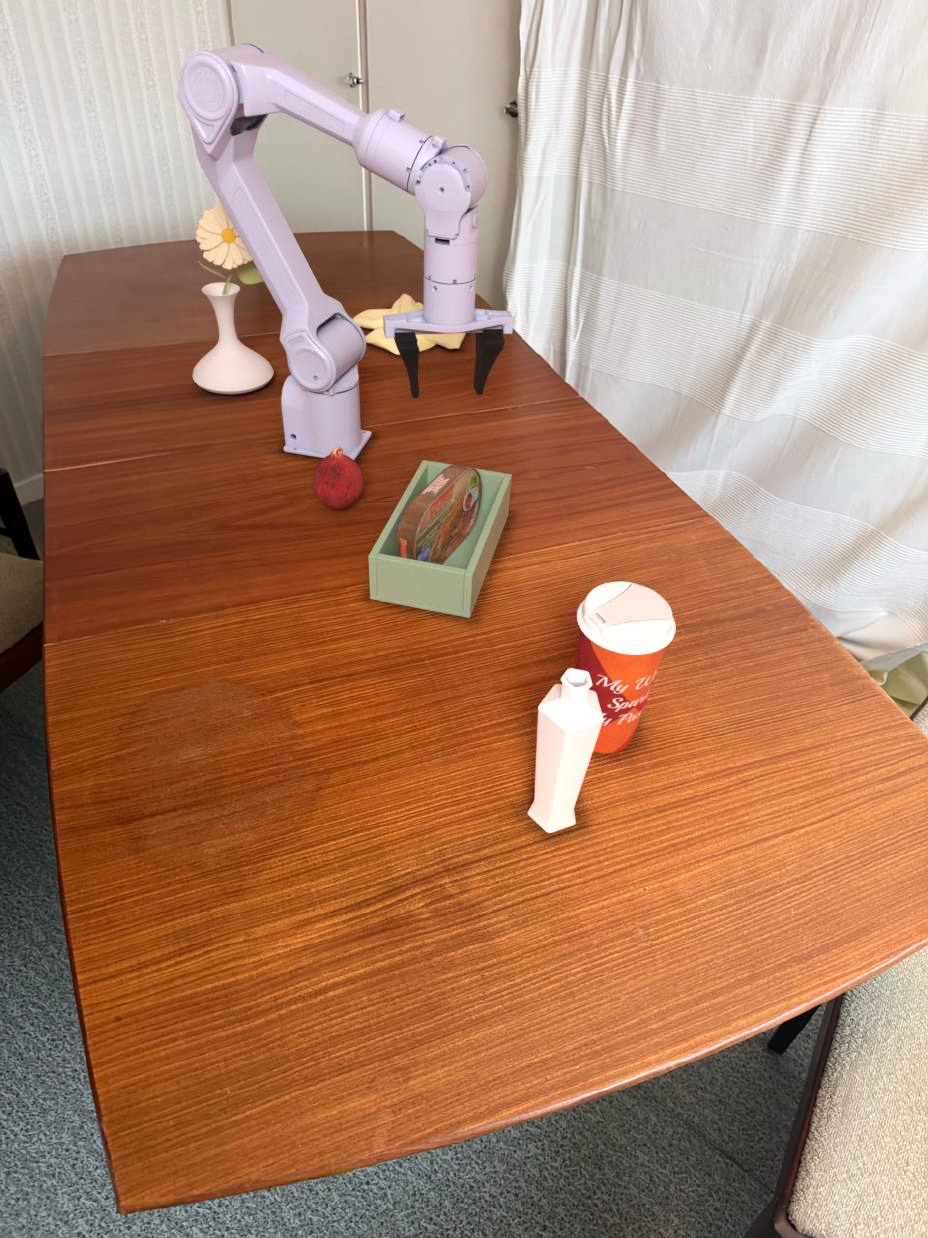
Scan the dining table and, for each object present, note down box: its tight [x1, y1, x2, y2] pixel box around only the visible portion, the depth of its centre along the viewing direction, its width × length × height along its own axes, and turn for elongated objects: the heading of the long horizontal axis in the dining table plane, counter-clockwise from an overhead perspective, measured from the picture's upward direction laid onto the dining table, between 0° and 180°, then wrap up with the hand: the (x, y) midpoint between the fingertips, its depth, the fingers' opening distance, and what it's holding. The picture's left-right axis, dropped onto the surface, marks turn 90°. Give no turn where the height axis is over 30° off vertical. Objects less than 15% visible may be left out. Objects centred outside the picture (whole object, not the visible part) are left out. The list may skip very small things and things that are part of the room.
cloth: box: [351, 293, 467, 356], centre depth 137 cm, size 22×19×6 cm
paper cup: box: [574, 581, 677, 754], centre depth 69 cm, size 8×8×14 cm
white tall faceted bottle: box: [526, 667, 603, 834], centre depth 61 cm, size 5×4×15 cm
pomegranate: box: [312, 446, 365, 511], centre depth 95 cm, size 6×6×8 cm
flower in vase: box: [191, 203, 275, 395], centre depth 113 cm, size 13×11×25 cm
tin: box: [397, 464, 482, 565], centre depth 89 cm, size 15×3×8 cm, turn 152°
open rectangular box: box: [367, 459, 513, 619], centre depth 90 cm, size 11×20×6 cm, turn 166°
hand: (446, 392), depth 99 cm, fingers open, 7 cm apart
